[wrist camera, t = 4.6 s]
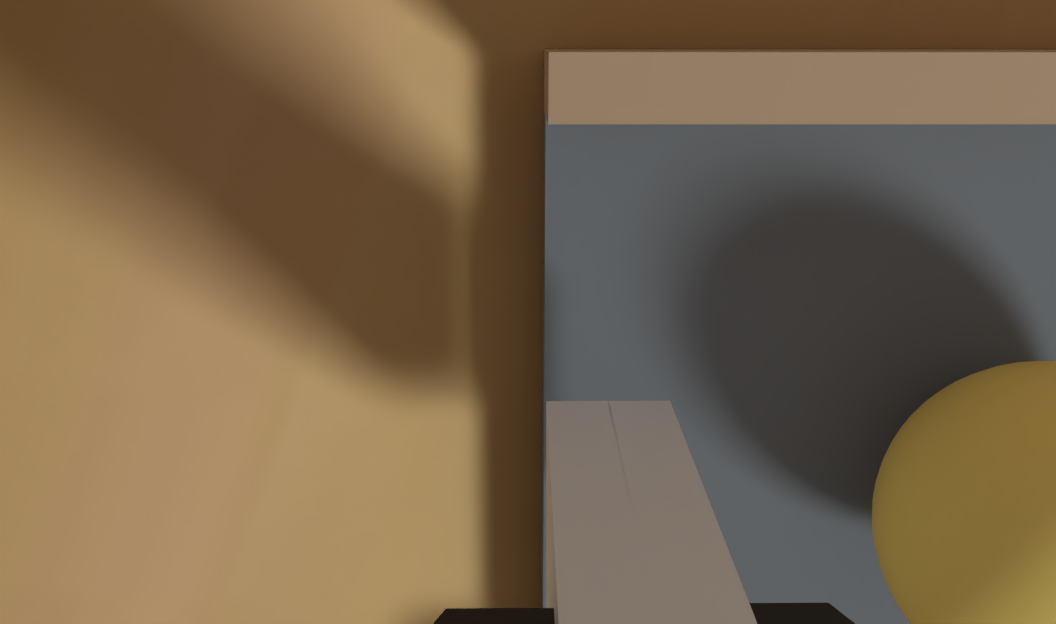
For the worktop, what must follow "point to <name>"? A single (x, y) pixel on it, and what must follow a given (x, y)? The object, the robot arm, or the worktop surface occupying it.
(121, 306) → the worktop surface
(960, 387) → the ball
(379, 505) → the worktop surface
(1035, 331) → the lane
